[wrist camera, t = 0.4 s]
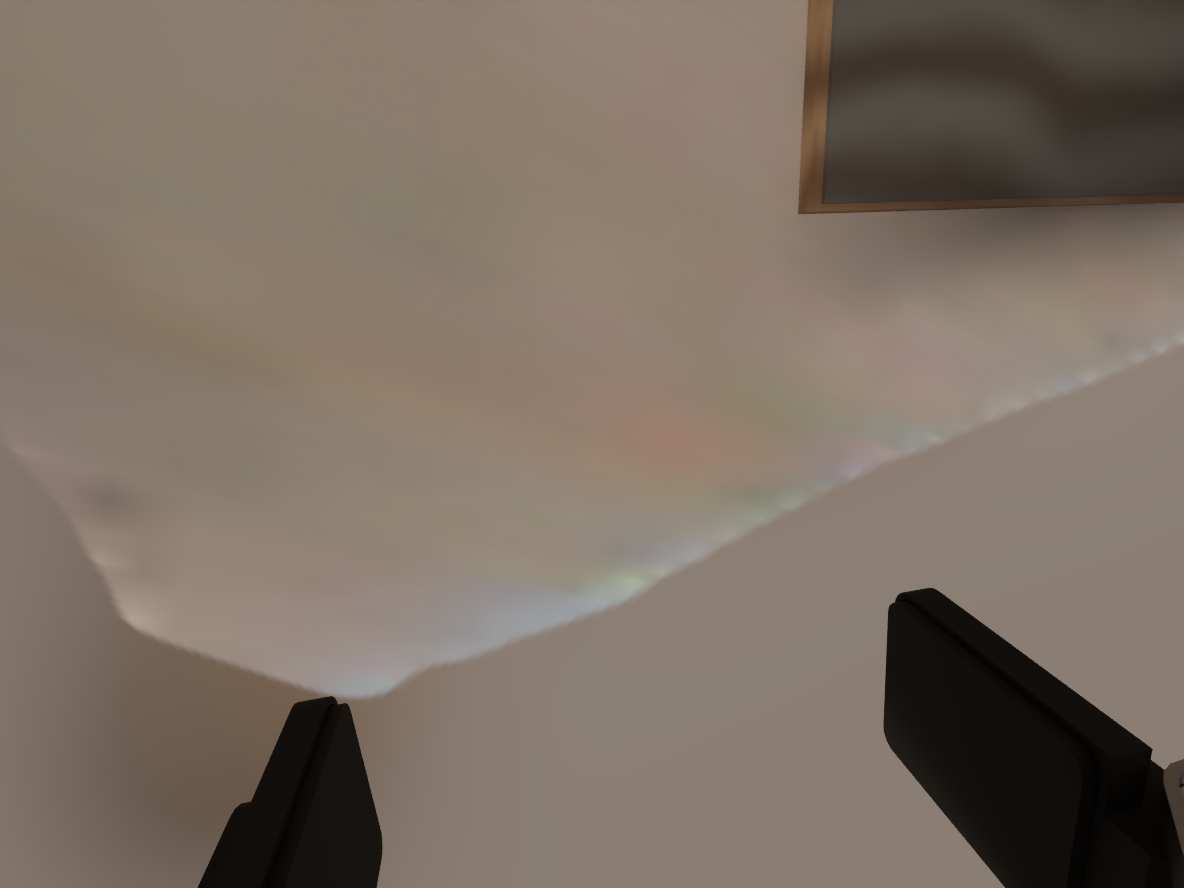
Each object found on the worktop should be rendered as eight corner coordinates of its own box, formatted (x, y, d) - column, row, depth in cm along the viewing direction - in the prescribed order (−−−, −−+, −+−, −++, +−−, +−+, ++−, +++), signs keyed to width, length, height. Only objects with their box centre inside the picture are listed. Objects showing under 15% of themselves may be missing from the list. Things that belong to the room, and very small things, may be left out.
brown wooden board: (810, -31, 36) (832, -51, 34) (1258, -19, 40) (1307, -37, 38) (798, 214, 40) (817, 211, 37) (1210, 201, 44) (1252, 198, 42)
